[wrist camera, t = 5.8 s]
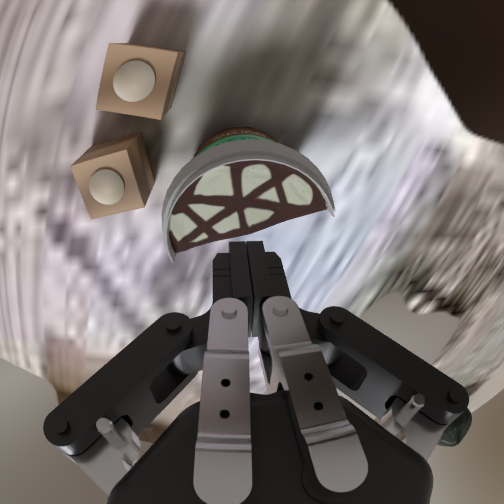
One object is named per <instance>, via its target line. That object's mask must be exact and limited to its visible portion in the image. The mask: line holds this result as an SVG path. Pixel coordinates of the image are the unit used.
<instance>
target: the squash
mask: <svg viewBox="0 0 504 504" xmlns="http://www.w3.org/2000/svg"><path fill="white" fill-rule="evenodd" d="M471 421H472V416H471V412H470V411H469V409H468V408H466V410H465V411H464V412H463V413H461V414H460V415H459V416H458V417H457V418H456V419H455V420H454V421H453V422H451V423H450V424H449V425H448V426H447V427H446V429H445V431H444V432H443V434H442V436H441V438H440V440H439V442H438V443H437V445H440V446H450V447H451V446H456V445H458V444H459V443H460V442H461V441H462V439H463V438H464V436H465V435H466V433H467V431H468V430H469V428H470V426H471Z"/></svg>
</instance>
